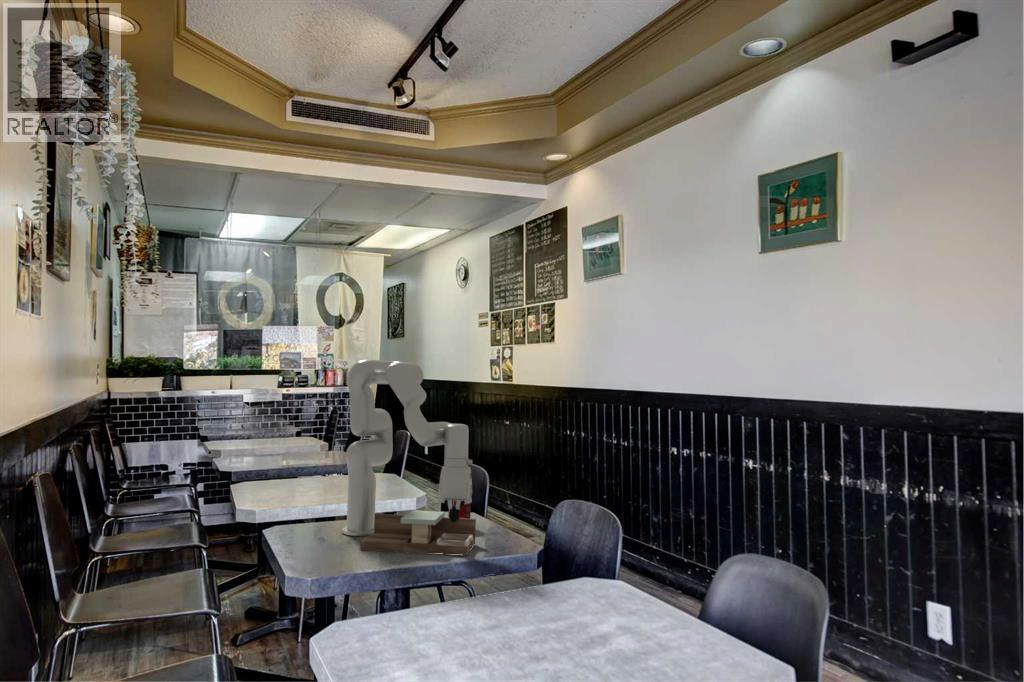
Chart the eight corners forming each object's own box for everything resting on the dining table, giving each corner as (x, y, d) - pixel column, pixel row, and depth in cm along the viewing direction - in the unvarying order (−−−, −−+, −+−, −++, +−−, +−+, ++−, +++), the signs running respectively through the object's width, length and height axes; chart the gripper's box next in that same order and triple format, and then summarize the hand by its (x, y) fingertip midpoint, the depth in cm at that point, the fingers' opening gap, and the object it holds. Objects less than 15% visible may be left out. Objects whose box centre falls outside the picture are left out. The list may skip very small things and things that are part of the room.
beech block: (415, 545, 211) (416, 520, 212) (430, 546, 211) (431, 521, 211) (411, 549, 206) (412, 524, 207) (426, 550, 206) (427, 524, 206)
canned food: (445, 526, 239) (446, 496, 240) (465, 524, 243) (466, 494, 243) (452, 531, 232) (453, 499, 233) (473, 529, 236) (474, 498, 236)
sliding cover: (412, 514, 218) (412, 510, 218) (444, 516, 216) (444, 511, 216) (400, 523, 205) (400, 518, 205) (434, 525, 203) (435, 520, 203)
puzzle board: (374, 538, 219) (375, 513, 219) (475, 544, 214) (475, 518, 215) (360, 549, 205) (360, 522, 205) (466, 556, 201) (467, 528, 201)
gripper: (481, 462, 211) (479, 520, 210) (435, 460, 213) (434, 517, 212) (477, 465, 204) (475, 525, 203) (430, 463, 206) (428, 522, 205)
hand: (454, 521), depth 208 cm, fingers closed
